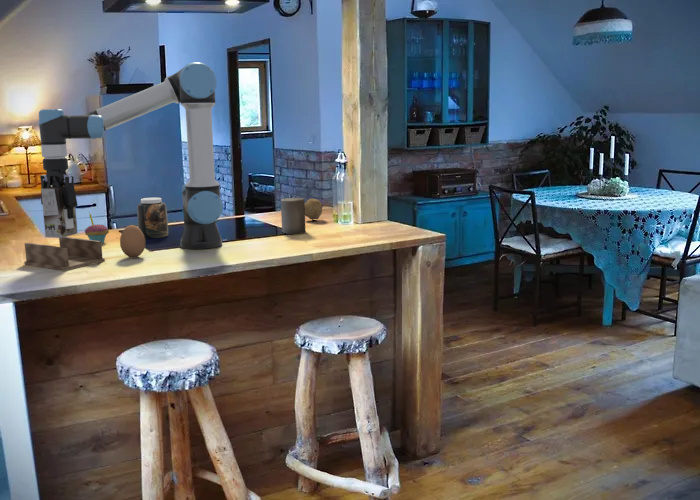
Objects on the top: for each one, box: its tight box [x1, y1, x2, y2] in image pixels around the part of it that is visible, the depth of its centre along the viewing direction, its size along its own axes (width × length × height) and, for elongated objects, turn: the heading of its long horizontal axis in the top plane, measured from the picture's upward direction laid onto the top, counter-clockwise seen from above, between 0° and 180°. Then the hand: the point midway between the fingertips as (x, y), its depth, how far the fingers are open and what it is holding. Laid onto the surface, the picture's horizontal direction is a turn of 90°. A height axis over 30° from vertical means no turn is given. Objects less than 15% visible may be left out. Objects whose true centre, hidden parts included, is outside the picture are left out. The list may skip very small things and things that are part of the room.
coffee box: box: [40, 187, 79, 239], centre depth 231 cm, size 9×6×16 cm
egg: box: [119, 224, 146, 259], centre depth 241 cm, size 8×8×11 cm
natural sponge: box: [304, 198, 323, 220], centre depth 316 cm, size 9×9×10 cm
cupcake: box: [84, 212, 110, 244], centre depth 269 cm, size 9×8×12 cm
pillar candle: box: [280, 196, 306, 235], centre depth 286 cm, size 10×10×15 cm
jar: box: [136, 197, 169, 239], centre depth 282 cm, size 12×12×15 cm
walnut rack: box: [23, 236, 105, 272], centre depth 234 cm, size 20×16×7 cm
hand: (61, 227), depth 233 cm, fingers closed on coffee box, 8 cm apart
